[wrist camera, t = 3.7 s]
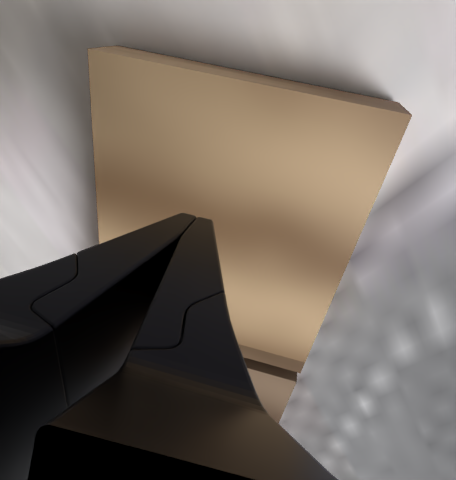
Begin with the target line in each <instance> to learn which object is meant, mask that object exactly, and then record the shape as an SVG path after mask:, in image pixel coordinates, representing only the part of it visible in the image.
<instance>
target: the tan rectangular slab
mask: <svg viewBox="0 0 456 480" xmlns="http://www.w3.org/2000/svg"><path fill="white" fill-rule="evenodd" d="M88 66H89V83H90V100H91V116H92V133H93V150H94V167H95V183H96V200H97V217H98V234H99V244H101V243H103V242H106V241H109V240H111V239H114V238H116V237H119V236H122V235H124V234H127V233H129V232H132V231H135V230H137V229H140V228H143V227H145V226H148V225H150V224H153V223H156V222H158V221H161V220H163V219H166V218H169V217H171V216H174V215H177V214H179V213H187V214H191V215H194V216H196V217H203V218H207V219H211V220H212V221H213V224H214V230H215V236H216V242H217V248H218V254H219V260H220V266H221V272H222V278H223V284H224V290H225V295H226V301H227V306H228V311H229V315H230V320H231V323H232V326H233V329H234V333H235V336H236V339H237V342H238V344H239V347H240V350H241V352H242V355H243V357H245V358H248V359H252V360H255V361H259V362H262V363H266V364H269V365H273V366H277V367H280V368H284V369H287V370H291V371H294V372H298V373H301V370H302V368H303V366H304V363H305V361H306V359H307V357H308V354H309V352H310V350H311V347H312V345H313V343H314V340H315V338H316V336H317V333H318V331H319V329H320V327H321V324H322V322H323V320H324V317H325V315H326V313H327V310H328V308H329V306H330V303H331V301H332V299H333V297H334V294H335V292H336V290H337V287H338V285H339V283H340V280H341V278H342V276H343V273H344V271H345V269H346V267H347V264H348V262H349V260H350V257H351V255H352V253H353V250H354V248H355V246H356V243H357V241H358V239H359V237H360V234H361V232H362V230H363V227H364V225H365V223H366V220H367V218H368V216H369V213H370V211H371V209H372V207H373V204H374V202H375V200H376V197H377V195H378V193H379V190H380V188H381V186H382V183H383V181H384V179H385V177H386V174H387V172H388V170H389V167H390V165H391V163H392V160H393V158H394V156H395V153H396V151H397V149H398V147H399V144H400V142H401V140H402V137H403V135H404V133H405V130H406V128H407V126H408V123H409V121H410V119H411V117H412V115H411V114H410V113H409V112H408V111H407V110H406V109H405V108H404V107H403V106H402V105H401V104H400V103H398V102H394V101H389V100H385V99H380V98H375V97H370V96H365V95H360V94H355V93H350V92H345V91H340V90H335V89H330V88H325V87H320V86H315V85H310V84H305V83H300V82H295V81H291V80H286V79H281V78H276V77H271V76H266V75H261V74H256V73H251V72H246V71H241V70H236V69H231V68H226V67H221V66H216V65H211V64H206V63H202V62H197V61H192V60H187V59H182V58H177V57H172V56H167V55H162V54H157V53H152V52H147V51H142V50H137V49H132V48H127V47H122V46H108V47H98V48H89V49H88Z"/></svg>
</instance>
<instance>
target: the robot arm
mask: <svg viewBox="0 0 456 480" xmlns="http://www.w3.org/2000/svg"><path fill="white" fill-rule="evenodd" d="M0 480H338V479H337V478H335V477H334V476H333V475H332V474H331V473H329V472H328V471H327V470H326V469H325V468H324V467H323V466H322V465H321V464H320V463H319V462H318V461H317V460H316V459H315V458H314V457H313V456H312V455H311V454H310V453H308V452H307V451H306V450H305V449H304V448H303V447H302V446H301V445H300V444H299V443H298V442H297V441H296V440H295V439H294V438H293V437H292V436H291V435H290V434H289V433H288V432H287V431H285V430H284V429H283V428H282V427H281V426H280V425H279V424H278V423H277V422H276V421H275V420H274V419H273V418H272V417H271V416H270V415H269V414H268V412H267V411H266V410H265V408H264V407H263V405H262V403H261V401H260V399H259V397H258V395H257V393H256V390H255V388H254V385H253V383H252V380H251V377H250V374H249V372H248V369H247V366H246V363H245V361H244V358H243V355H242V352H241V350H240V347H239V344H238V342H237V339H236V336H235V333H234V329H233V326H232V323H231V320H230V315H229V311H228V306H227V301H226V295H225V290H224V284H223V278H222V272H221V266H220V260H219V254H218V248H217V242H216V236H215V230H214V224H213V221H212V220H211V219H207V218H203V217H196V216H194V215H191V214H187V213H179V214H177V215H174V216H171V217H169V218H166V219H163V220H161V221H158V222H156V223H153V224H150V225H148V226H145V227H143V228H140V229H137V230H135V231H132V232H129V233H127V234H124V235H122V236H119V237H116V238H114V239H111V240H109V241H106V242H103V243H101V244H98V245H95V246H93V247H90V248H87V249H85V250H82V251H80V252H78V253H77V255H76V254H72V255H69V256H66V257H64V258H61V259H58V260H56V261H53V262H50V263H47V264H44V265H42V266H39V267H36V268H33V269H30V270H26V271H23V272H20V273H17V274H14V275H11V276H7V277H4V278H1V279H0Z"/></svg>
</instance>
